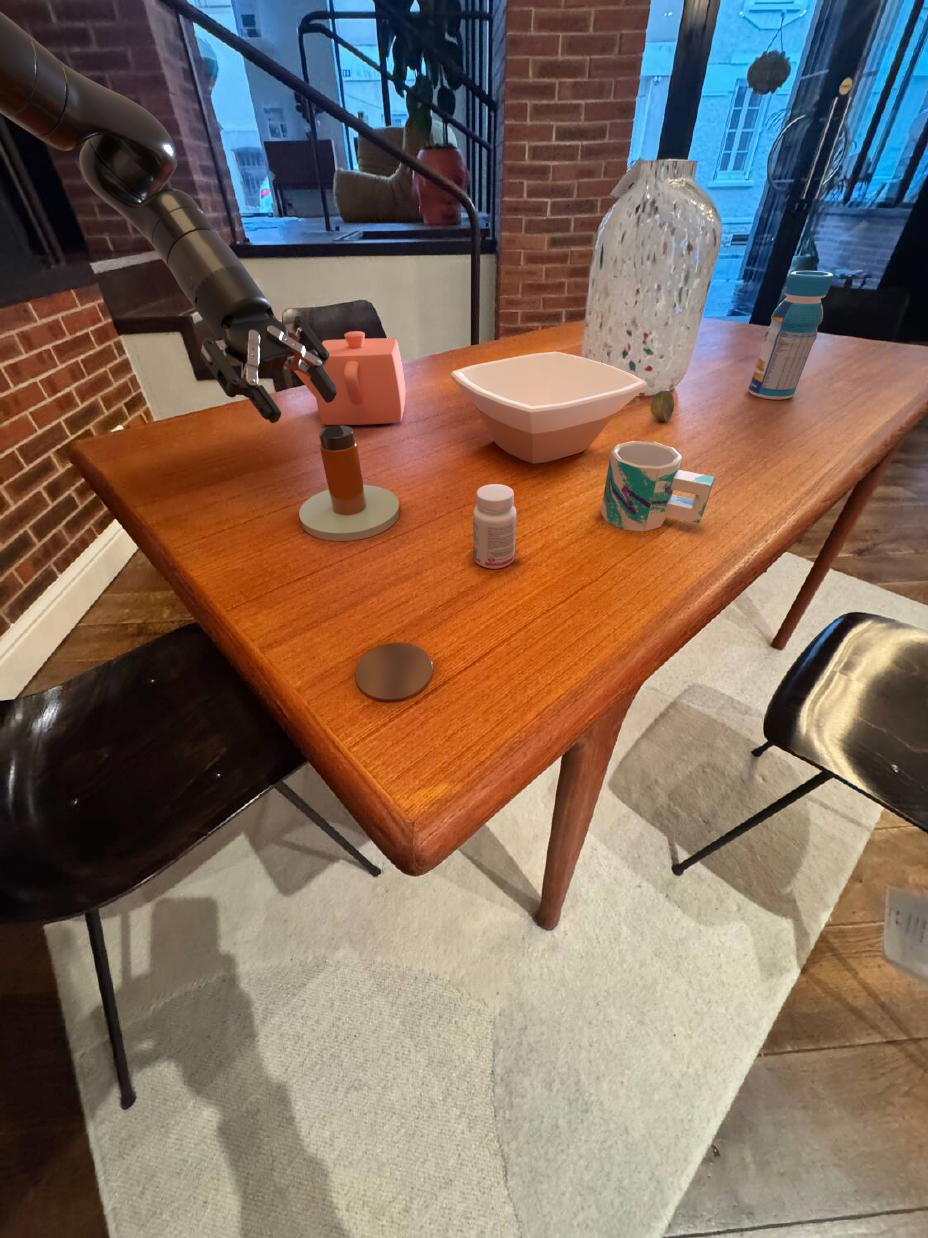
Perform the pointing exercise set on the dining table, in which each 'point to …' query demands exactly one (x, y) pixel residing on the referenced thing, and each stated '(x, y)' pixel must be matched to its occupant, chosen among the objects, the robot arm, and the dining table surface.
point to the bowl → (546, 401)
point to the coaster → (393, 672)
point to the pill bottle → (494, 526)
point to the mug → (651, 487)
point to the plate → (350, 516)
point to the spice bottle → (342, 469)
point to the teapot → (361, 381)
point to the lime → (662, 405)
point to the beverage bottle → (790, 336)
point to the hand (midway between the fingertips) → (305, 408)
